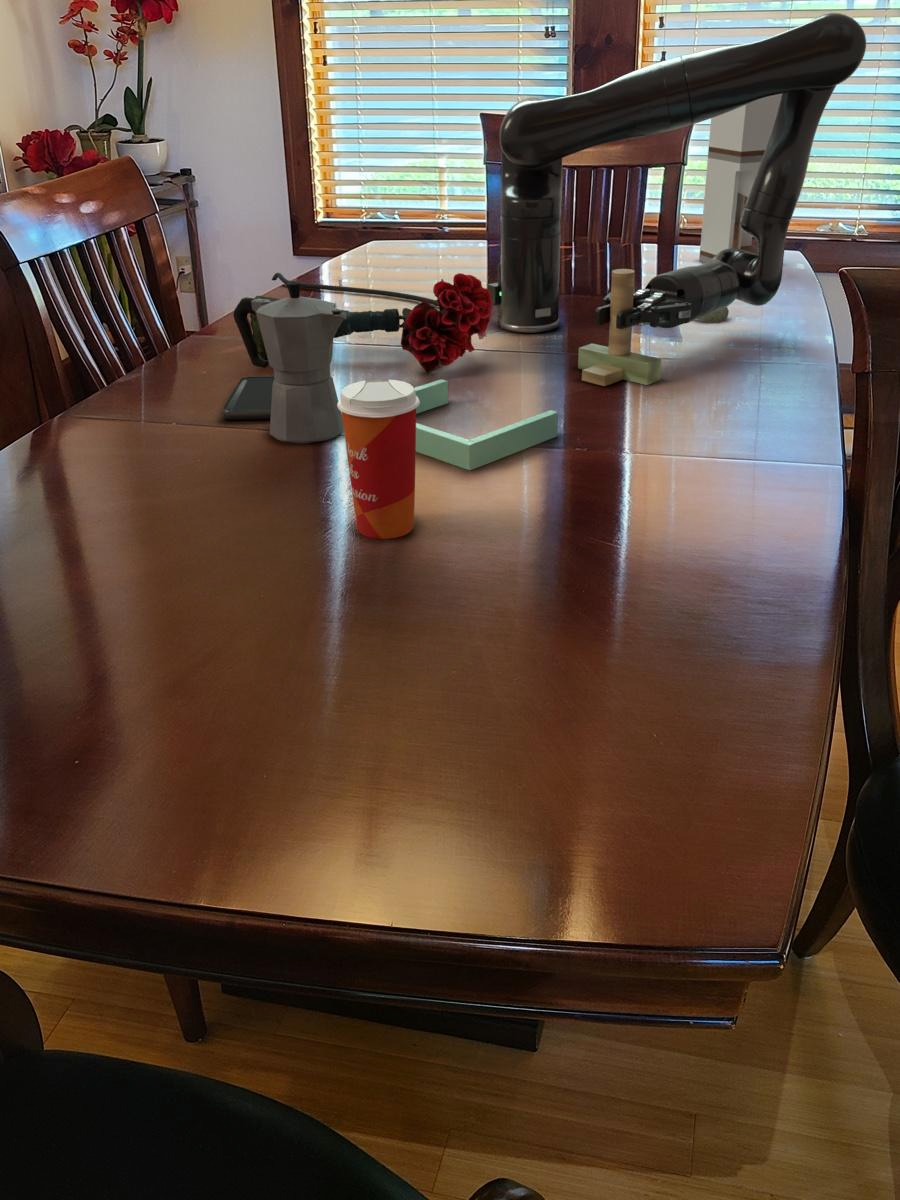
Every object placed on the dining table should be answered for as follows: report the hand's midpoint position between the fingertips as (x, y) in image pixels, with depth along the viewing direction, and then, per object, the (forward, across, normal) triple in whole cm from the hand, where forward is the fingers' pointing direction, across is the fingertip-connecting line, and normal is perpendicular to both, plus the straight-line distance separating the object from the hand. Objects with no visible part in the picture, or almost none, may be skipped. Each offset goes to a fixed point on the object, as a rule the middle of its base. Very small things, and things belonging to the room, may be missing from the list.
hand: (608, 319), depth 144 cm
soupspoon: (-42, -14, +8) cm, 46 cm away
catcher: (+29, 0, +8) cm, 30 cm away
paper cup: (+53, +14, +8) cm, 55 cm away
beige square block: (+1, 0, +8) cm, 8 cm away
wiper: (-3, 0, +8) cm, 9 cm away
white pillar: (-78, -28, +8) cm, 83 cm away
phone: (+37, -28, +8) cm, 47 cm away
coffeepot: (+41, -15, +8) cm, 44 cm away
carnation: (+15, -31, +8) cm, 35 cm away
